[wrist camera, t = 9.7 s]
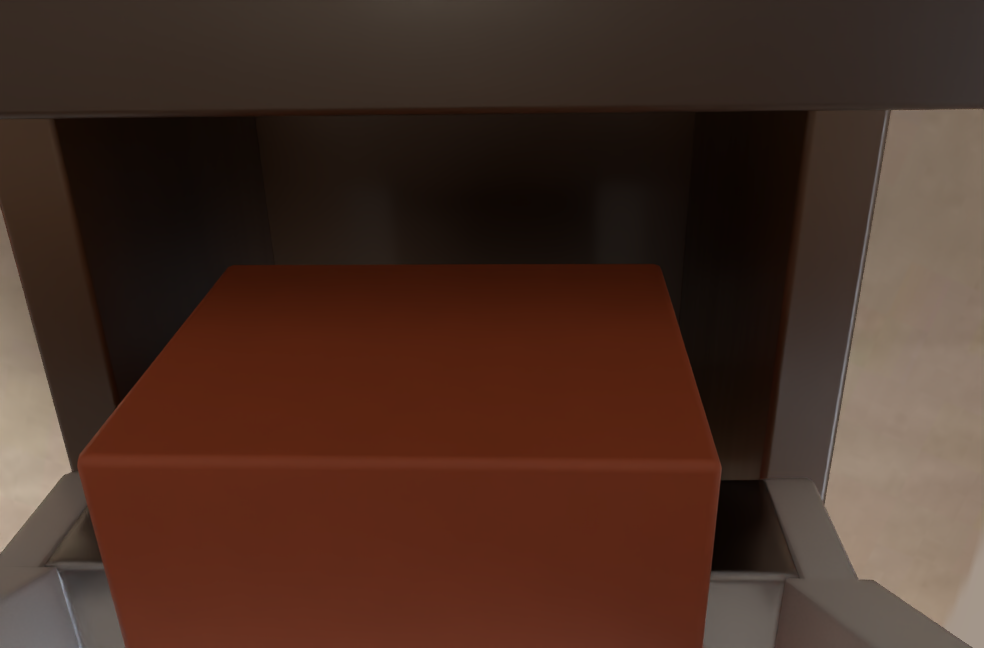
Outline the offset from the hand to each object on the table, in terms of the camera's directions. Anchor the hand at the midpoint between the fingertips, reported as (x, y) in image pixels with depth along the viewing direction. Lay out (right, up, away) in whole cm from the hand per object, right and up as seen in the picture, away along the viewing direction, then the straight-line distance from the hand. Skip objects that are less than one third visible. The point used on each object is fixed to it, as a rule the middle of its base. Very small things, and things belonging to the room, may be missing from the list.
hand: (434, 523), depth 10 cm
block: (0, +1, +1) cm, 2 cm away
